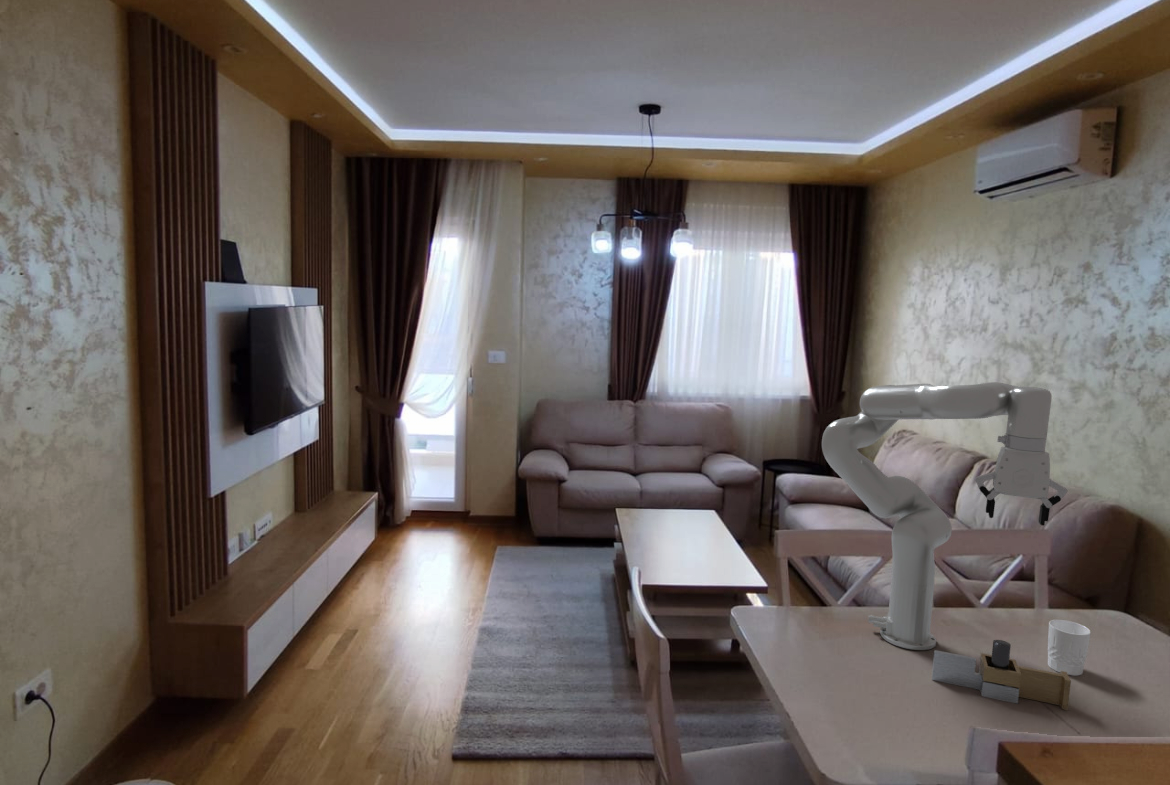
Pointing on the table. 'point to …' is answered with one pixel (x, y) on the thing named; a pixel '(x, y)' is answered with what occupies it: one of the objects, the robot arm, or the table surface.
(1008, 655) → the pin
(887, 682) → the table surface
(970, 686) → the fixed leaf
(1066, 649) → the white cup
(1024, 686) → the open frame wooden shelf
